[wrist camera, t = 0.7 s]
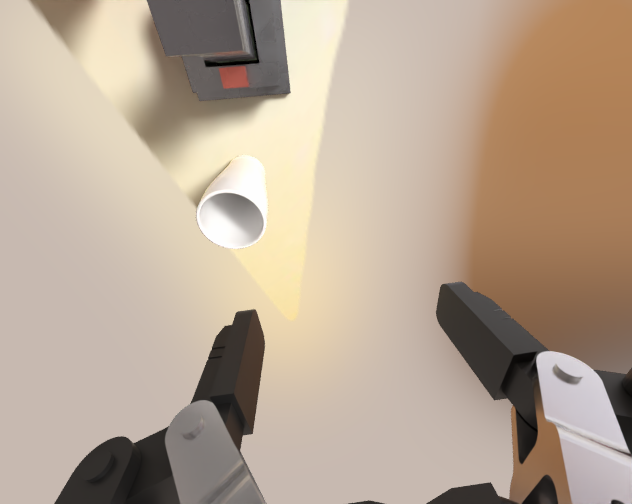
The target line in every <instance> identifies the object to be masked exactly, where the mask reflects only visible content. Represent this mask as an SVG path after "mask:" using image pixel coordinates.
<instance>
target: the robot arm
mask: <svg viewBox="0 0 632 504" xmlns="http://www.w3.org/2000/svg"><path fill="white" fill-rule="evenodd" d="M436 316H437V319H438V322H439V324H440V326H441V327H442V329H443V330H444V332H445V333H446V334H447V335H448V337H449V338H450V340H451V341H452V342H453V344H454V345H455V347H456V348H457V349H458V351H459V352H460V353H461V355H462V356H463V358H464V359H465V360H466V362H467V363H468V364H469V366H470V367H471V369H472V370H473V372H474V373H475V374H476V375H477V377H478V378H479V380H480V381H481V383H482V384H483V385H484V387H485V388H486V389H487V391H488V392H489V394H490V395H491V396H492V398H493V399H494V400H500V399H506V398H508V399H509V400H510V402H511V403H512V404H513V406H512V408H511V423H512V444H513V476H512V480H511V485H510V497H509V499H506V498H503V497H500V496H498V495H497V493H496V491H495V489H494V487H493V486H492V484H491V483H484V484H477V485H470V486H463V487H458V488H451V489H449V490H448V491H446V492H445V493H443V494H441V495H440V496H438V497H436V498H435V499H433V500H432V501H430V502H428V503H427V504H632V368H631V369H630V371H629V372H628V373H627V374H621V373H613V372H606V371H599V370H593V369H591V368H590V367H589V366H588V365H586V364H585V363H583V362H581V361H580V360H578V359H576V358H574V357H572V356H569V355H566V354H563V353H560V352H554V351H549V350H548V349H547V348H546V347H544V346H543V345H542V344H541V343H540V342H539V341H538V340H537V339H535V338H534V337H533V336H532V335H531V334H530V333H529V332H528V331H526V330H525V329H524V328H523V327H522V326H521V325H520V324H518V323H517V322H516V321H515V320H514V319H511V317H510V316H509V315H508V314H507V313H506V312H505V311H502V309H501V308H500V307H499V306H498V305H497V304H496V303H495V302H494V301H492V300H491V299H490V298H488V297H486V296H484V295H482V294H480V293H478V292H473V291H472V290H471V289H470V288H469V287H468V286H467V285H466V284H465V283H463V282H455V283H448V284H442V285H441V287H440V292H439V298H438V304H437V310H436ZM264 349H265V341H264V335H263V331H262V328H261V325H260V321H259V318H258V314H257V312H256V310H247V311H239V312H237V313H236V315H235V318H234V321H233V324H232V325H229V326H225V327H224V328H223V329H222V330H221V331H220V333H219V334H218V335H217V336H216V338H215V341H214V344H213V347H212V350H211V352H210V354H209V357H208V360H207V362H206V365H205V368H204V371H203V373H202V376H201V379H200V381H199V383H198V386H197V389H196V392H195V394H194V397H193V399H192V401H191V403H190V405H188V406H187V407H185V408H184V409H182V410H181V411H180V412H179V413H178V414H177V415H176V416H175V418H174V419H173V421H172V422H171V424H170V426H168V427H167V428H165V429H163V430H161V431H159V432H157V433H155V434H153V435H150V436H149V437H146V438H144V439H142V440H140V441H138V442H136V443H132V442H131V441H130V440H129V439H128V438H126V437H115V438H112V439H110V440H107V441H106V442H104V443H102V444H101V445H99V446H98V447H96V448H95V449H94V450H93V451H91V452H90V453H89V454H88V455H87V456H86V457H85V458H84V459H83V460H82V461H81V463H80V464H79V465H78V466H77V468H76V469H75V471H74V472H73V473H72V475H71V477H70V479H69V480H68V482H67V483H66V485H65V487H64V489H63V490H62V492H61V494H60V495H59V497H58V499H57V500H56V502H55V504H266V502H265V500H264V498H263V496H262V494H261V492H260V490H259V488H258V486H257V484H256V482H255V480H254V478H253V476H252V474H251V472H250V470H249V468H248V466H247V464H246V462H245V460H244V458H243V456H242V454H241V452H240V448H241V442H242V436H243V435H248V434H253V428H254V421H255V414H256V405H257V399H258V392H259V385H260V378H261V370H262V364H263V356H264ZM350 504H383V503H379V502H374V501H364V502H357V503H350Z"/></svg>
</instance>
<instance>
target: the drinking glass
mask: <svg viewBox="0 0 632 504" xmlns="http://www.w3.org/2000/svg"><path fill="white" fill-rule="evenodd" d="M267 217H268V198H267V191H266V183H265V170H264V167H263V165H262V164H261V163H260V162H259V161H258V160H257V159H256V158H254V157H252V156H249V155H240V156H237V157H235V158H234V159H232V160H231V162H230V163H229V165H228V166H227V167H226V168H225V169H224V170H223V171H222V172H221V173H220V174H219V175H218V176H217V177H216V178H215V179H214V181H213V182H212V183H211V184H210V185H209V187H208V188H207V189H206V191H205V193H204V195H203V196H202V198H201V200H200V203H199V205H198V207H197V211H196V220H197V224H198V226H199V228H200V230H201V232H202V233H203V234H204V235H205V236H206V237H207V238H208V239H209V240H210V241H212V242H213V243H215V244H217V245H219V246H222V247H225V248H230V249H241V248H246V247H249V246H251V245H253V244H255V243H256V242H257V241H259V240H260V238H261V237H262V236H263V234H264V232H265V229H266V224H267Z"/></svg>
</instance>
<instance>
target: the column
mask: <svg viewBox="0 0 632 504" xmlns="http://www.w3.org/2000/svg"><path fill="white" fill-rule="evenodd" d="M147 2H148V5H149V8H150V11H151V14H152V17H153V20H154V22H155V25H156V28H157V31H158V34H159V37H160V40H161V43H162V46H163V48H164V51H165V54H166V56H167V57H179V56H186V57H190V56H199V57H203V59H204V60H205V61H209V60H211V62H217V63H230V62H243V61H255V60H257V55H256V49H255V43H254V37H253V31H252V25H251V19H250V13H249V7H248V4H246V0H147Z"/></svg>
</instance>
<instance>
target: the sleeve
mask: <svg viewBox="0 0 632 504" xmlns="http://www.w3.org/2000/svg"><path fill="white" fill-rule="evenodd" d="M246 3H250V8H251V14H252V20H253V26H254V32H255V38H256V44H257V50H258V56H259V63H257V64H244V65H232V66H219V67H217V63H216V62H211V60H209V61H205V60H204V59H203V57H199V56H190V57H186V56H182V59H183V62H184V65H185V68H186V71H187V75H188V78H189V81H190V84H191V87H192V91H193V93H196V92H197V94H198V98H199V101H204V100H216V99H227V98H239V97H250V96H262V95H273V94H285V93H290V84H289V74H288V65H287V56H286V47H285V38H284V28H283V19H282V10H281V1H280V0H246Z"/></svg>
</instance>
